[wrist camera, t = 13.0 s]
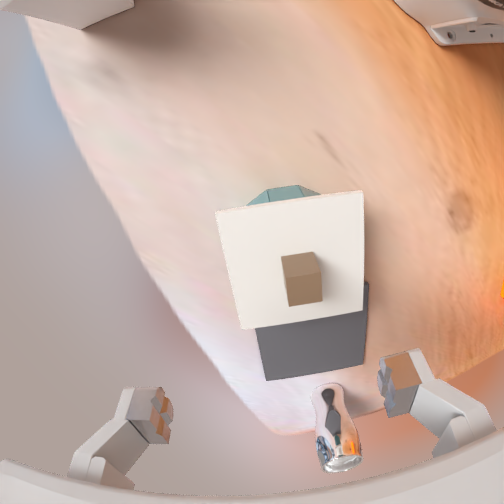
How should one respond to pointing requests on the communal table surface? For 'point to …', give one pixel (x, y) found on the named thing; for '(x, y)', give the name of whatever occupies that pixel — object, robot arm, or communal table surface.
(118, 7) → the milk carton
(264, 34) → the communal table surface
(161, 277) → the communal table surface
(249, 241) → the lid
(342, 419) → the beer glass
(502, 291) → the orange juice
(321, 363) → the mat
